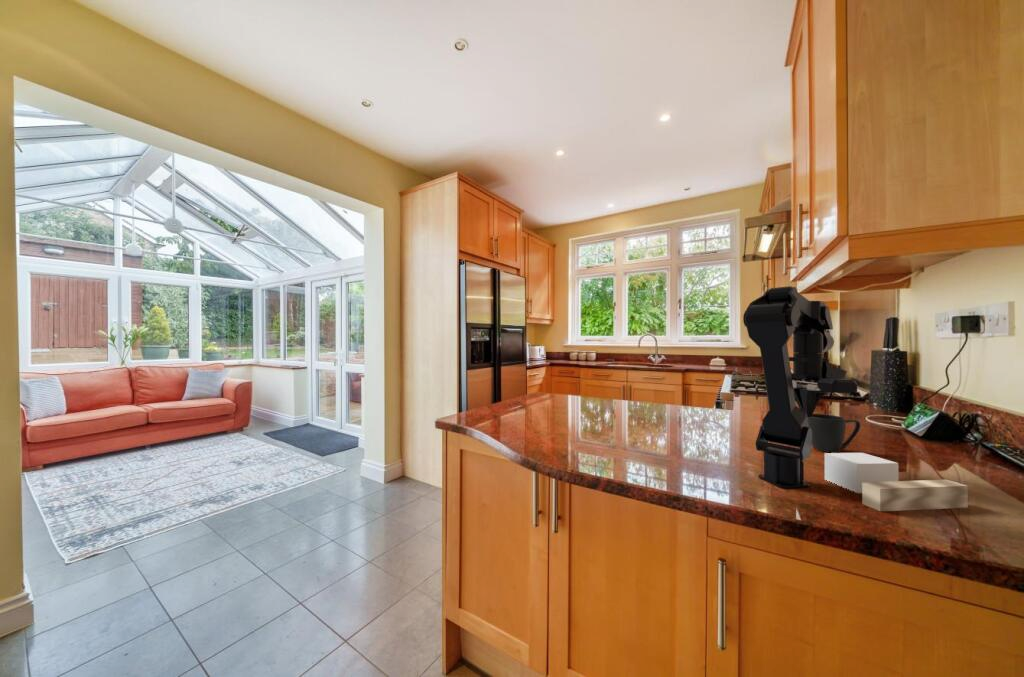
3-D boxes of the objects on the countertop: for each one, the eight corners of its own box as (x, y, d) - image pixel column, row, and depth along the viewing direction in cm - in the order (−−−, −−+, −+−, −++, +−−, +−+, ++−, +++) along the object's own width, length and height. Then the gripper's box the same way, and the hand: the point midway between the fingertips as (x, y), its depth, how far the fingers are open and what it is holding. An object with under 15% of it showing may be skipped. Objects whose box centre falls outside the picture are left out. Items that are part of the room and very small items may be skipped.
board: (880, 511, 64) (880, 488, 64) (862, 503, 67) (862, 482, 67) (967, 507, 66) (967, 485, 66) (946, 500, 69) (946, 479, 69)
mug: (870, 457, 95) (870, 421, 95) (816, 453, 98) (816, 418, 99) (850, 448, 103) (850, 415, 103) (801, 445, 106) (801, 412, 107)
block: (857, 493, 72) (856, 463, 72) (824, 480, 79) (824, 453, 79) (898, 492, 73) (898, 463, 73) (862, 479, 80) (862, 452, 80)
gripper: (879, 354, 80) (879, 425, 80) (803, 352, 98) (803, 409, 98) (834, 354, 79) (834, 426, 79) (765, 352, 97) (765, 410, 97)
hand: (807, 416), depth 88 cm, fingers closed
